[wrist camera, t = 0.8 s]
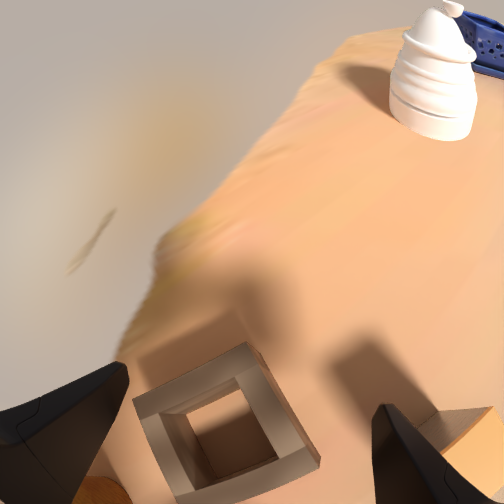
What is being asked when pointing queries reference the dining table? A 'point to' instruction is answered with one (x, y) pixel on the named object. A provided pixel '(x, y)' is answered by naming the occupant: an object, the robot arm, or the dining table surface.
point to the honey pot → (435, 77)
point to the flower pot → (483, 42)
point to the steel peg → (470, 444)
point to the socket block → (188, 448)
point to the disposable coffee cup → (100, 492)
